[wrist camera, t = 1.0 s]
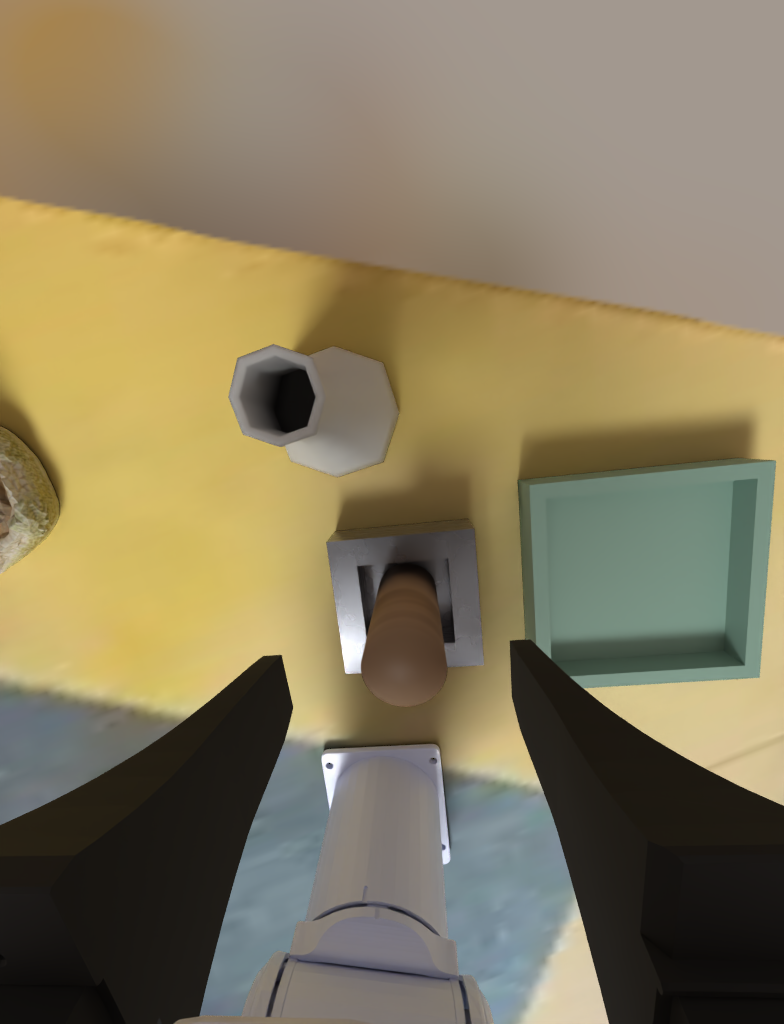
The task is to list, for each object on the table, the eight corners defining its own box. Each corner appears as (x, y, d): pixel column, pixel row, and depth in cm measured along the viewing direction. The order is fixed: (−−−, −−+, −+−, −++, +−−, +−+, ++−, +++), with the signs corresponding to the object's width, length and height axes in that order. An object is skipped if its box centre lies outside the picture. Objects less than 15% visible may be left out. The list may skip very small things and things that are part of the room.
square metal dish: (477, 642, 24) (484, 664, 22) (352, 650, 25) (345, 674, 23) (467, 518, 23) (474, 528, 21) (335, 531, 24) (326, 542, 21)
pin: (438, 615, 24) (450, 704, 16) (381, 619, 24) (366, 709, 16) (433, 560, 23) (443, 625, 15) (375, 565, 23) (355, 631, 16)
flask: (399, 346, 21) (387, 270, 12) (399, 477, 23) (388, 508, 13) (271, 347, 22) (154, 275, 12) (278, 476, 23) (179, 505, 13)
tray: (726, 654, 24) (759, 677, 21) (526, 667, 25) (538, 690, 22) (738, 458, 22) (776, 460, 19) (517, 480, 22) (529, 485, 20)
